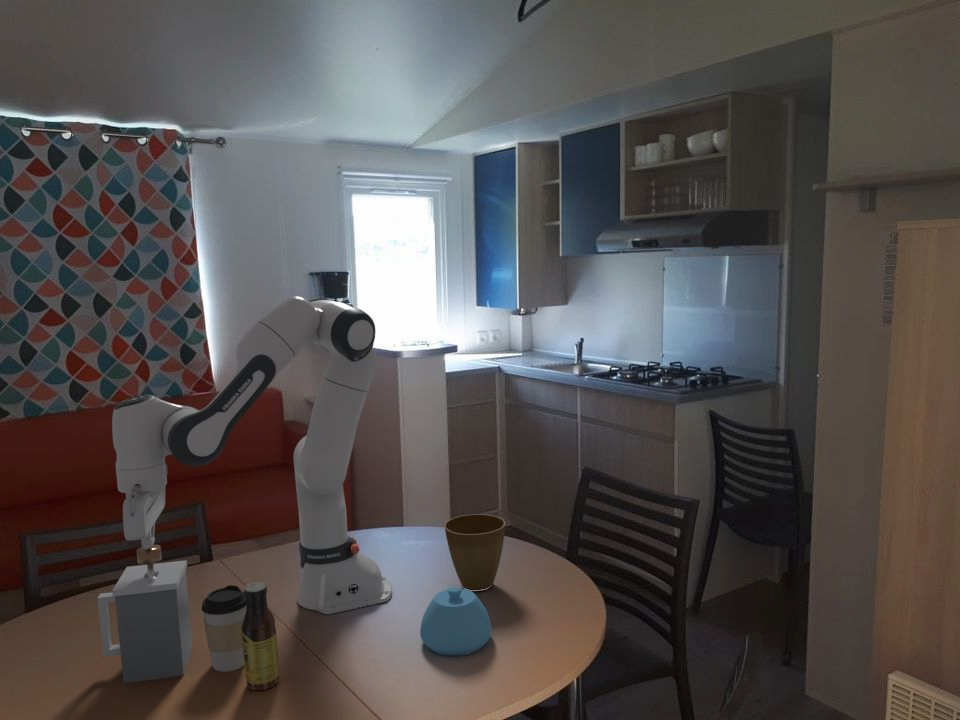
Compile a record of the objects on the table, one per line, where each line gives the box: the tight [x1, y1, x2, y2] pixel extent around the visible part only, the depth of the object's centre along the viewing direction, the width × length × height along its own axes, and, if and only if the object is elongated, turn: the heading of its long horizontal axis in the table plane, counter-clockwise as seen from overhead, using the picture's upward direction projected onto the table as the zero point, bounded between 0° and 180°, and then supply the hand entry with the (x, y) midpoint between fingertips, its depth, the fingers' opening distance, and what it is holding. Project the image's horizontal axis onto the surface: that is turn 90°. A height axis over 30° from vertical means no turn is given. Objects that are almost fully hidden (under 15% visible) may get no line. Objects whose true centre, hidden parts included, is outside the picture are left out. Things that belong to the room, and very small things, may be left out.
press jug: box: [97, 560, 193, 685], centre depth 149 cm, size 16×12×19 cm
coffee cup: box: [201, 584, 247, 673], centre depth 150 cm, size 9×9×15 cm
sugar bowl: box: [419, 586, 493, 656], centre depth 156 cm, size 15×15×12 cm
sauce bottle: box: [241, 581, 280, 691], centre depth 142 cm, size 7×6×20 cm
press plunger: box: [136, 544, 163, 578], centre depth 149 cm, size 4×4×21 cm
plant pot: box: [443, 513, 506, 590], centre depth 182 cm, size 15×15×16 cm
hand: (148, 545), depth 148 cm, fingers closed
